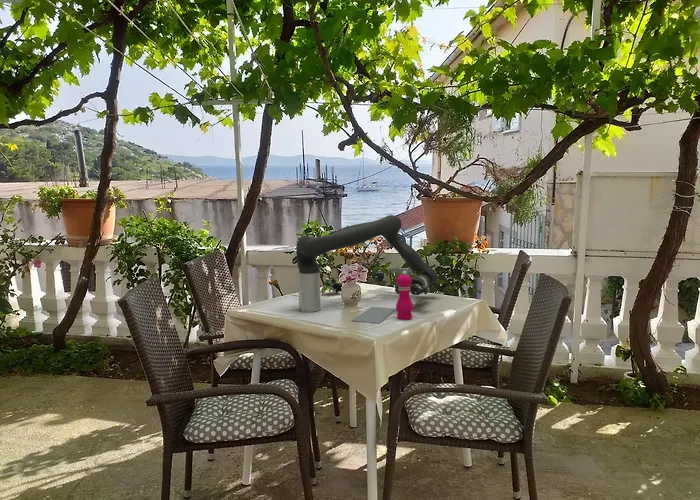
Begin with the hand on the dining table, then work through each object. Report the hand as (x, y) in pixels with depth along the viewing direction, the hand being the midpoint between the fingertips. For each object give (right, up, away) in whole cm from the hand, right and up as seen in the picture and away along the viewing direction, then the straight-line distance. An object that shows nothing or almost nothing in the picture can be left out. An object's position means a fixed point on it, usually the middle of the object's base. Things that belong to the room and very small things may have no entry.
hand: (407, 292), depth 218 cm
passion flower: (-33, -5, +44) cm, 55 cm away
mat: (-14, -10, +2) cm, 17 cm away
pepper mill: (-2, -11, -3) cm, 11 cm away
